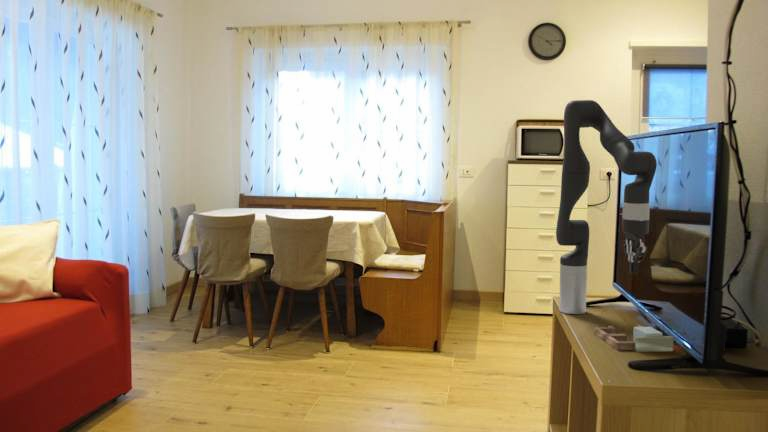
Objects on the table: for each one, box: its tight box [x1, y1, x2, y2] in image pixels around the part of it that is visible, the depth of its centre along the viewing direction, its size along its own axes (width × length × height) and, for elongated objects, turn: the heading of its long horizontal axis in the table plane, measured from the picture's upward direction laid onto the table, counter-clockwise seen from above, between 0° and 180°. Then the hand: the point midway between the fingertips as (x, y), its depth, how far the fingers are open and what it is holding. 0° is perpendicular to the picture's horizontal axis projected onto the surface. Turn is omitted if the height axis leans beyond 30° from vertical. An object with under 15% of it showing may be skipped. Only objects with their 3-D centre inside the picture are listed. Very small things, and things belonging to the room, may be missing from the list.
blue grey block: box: [632, 326, 664, 342], centre depth 172 cm, size 7×5×5 cm
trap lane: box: [594, 324, 674, 353], centre depth 178 cm, size 20×15×4 cm
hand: (633, 274), depth 181 cm, fingers closed
